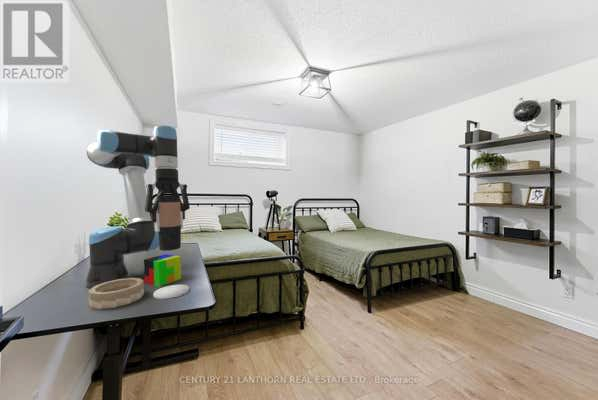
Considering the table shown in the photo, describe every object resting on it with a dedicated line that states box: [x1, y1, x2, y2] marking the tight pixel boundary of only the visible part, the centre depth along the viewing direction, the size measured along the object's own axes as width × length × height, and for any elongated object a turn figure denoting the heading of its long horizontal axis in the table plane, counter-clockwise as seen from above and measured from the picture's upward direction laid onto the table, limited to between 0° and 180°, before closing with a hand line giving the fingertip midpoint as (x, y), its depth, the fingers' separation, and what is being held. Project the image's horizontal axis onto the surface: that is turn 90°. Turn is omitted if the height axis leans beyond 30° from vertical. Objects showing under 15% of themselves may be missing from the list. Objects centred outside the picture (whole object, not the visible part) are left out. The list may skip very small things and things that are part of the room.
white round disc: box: [152, 284, 190, 300], centre depth 95 cm, size 12×12×1 cm
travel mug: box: [156, 194, 182, 252], centre depth 94 cm, size 8×8×20 cm
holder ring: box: [88, 277, 145, 310], centre depth 90 cm, size 15×15×5 cm
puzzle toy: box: [143, 253, 182, 287], centre depth 108 cm, size 10×10×10 cm
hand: (169, 229), depth 94 cm, fingers closed on travel mug, 8 cm apart
